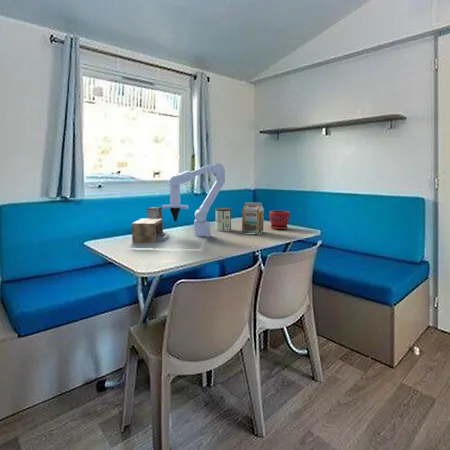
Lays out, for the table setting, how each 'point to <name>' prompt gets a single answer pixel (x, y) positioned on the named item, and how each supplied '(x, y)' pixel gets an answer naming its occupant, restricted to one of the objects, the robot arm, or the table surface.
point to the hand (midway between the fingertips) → (175, 221)
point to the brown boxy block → (146, 230)
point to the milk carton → (252, 218)
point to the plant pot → (279, 219)
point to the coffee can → (223, 219)
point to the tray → (161, 237)
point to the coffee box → (155, 213)
